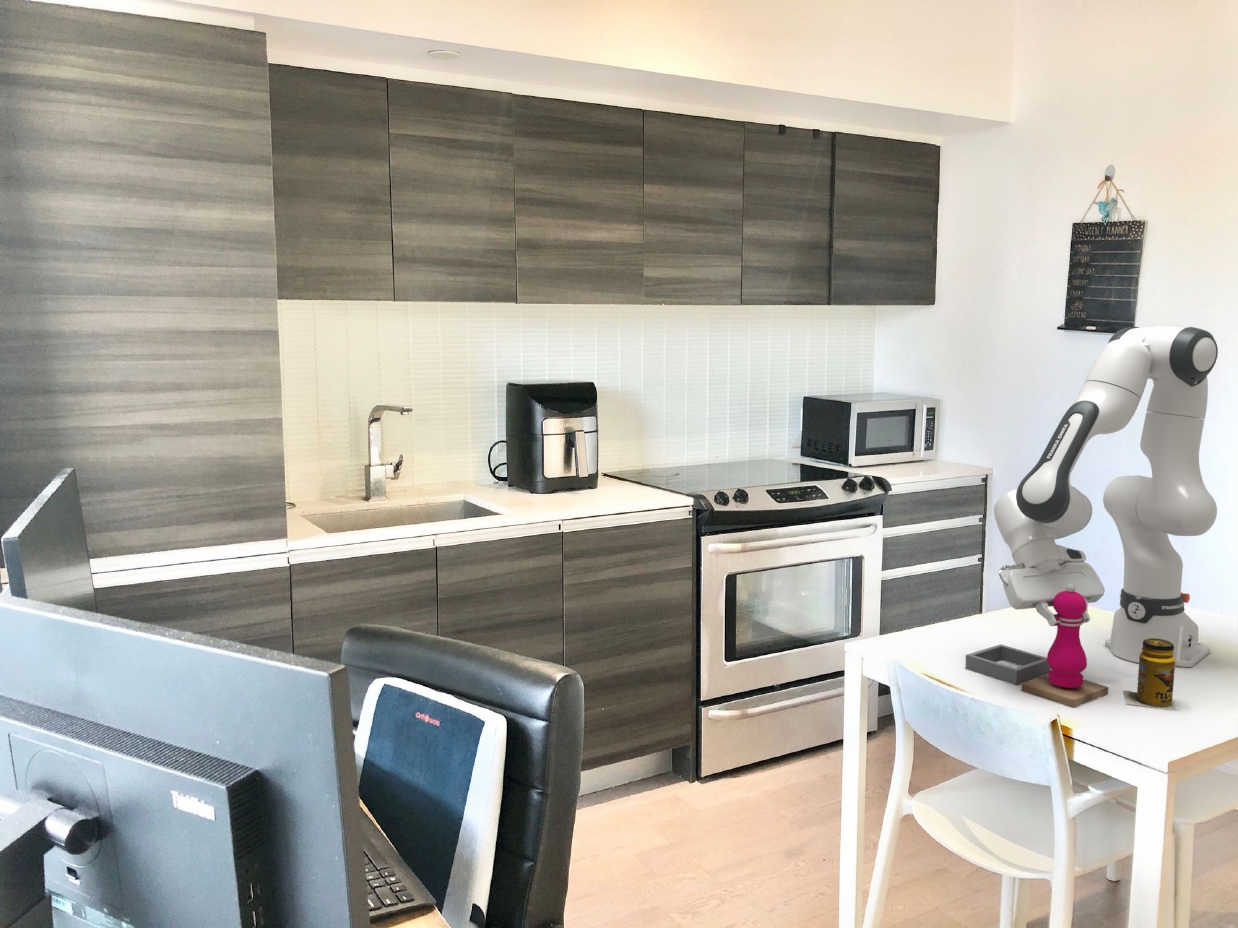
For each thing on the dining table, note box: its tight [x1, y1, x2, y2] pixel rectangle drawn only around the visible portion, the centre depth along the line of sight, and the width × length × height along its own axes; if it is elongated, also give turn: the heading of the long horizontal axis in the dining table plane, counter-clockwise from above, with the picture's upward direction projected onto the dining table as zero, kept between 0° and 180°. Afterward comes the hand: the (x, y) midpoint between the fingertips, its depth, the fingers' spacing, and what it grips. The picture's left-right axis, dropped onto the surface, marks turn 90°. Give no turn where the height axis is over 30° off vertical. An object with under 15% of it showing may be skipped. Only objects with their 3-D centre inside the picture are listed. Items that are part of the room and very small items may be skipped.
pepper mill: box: [1046, 584, 1088, 688], centre depth 195 cm, size 7×7×20 cm
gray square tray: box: [965, 644, 1052, 686], centre depth 209 cm, size 12×12×3 cm
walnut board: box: [1020, 674, 1109, 709], centre depth 197 cm, size 12×11×2 cm
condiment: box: [1122, 638, 1177, 711], centre depth 191 cm, size 7×8×12 cm
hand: (1070, 623), depth 194 cm, fingers open, 5 cm apart
